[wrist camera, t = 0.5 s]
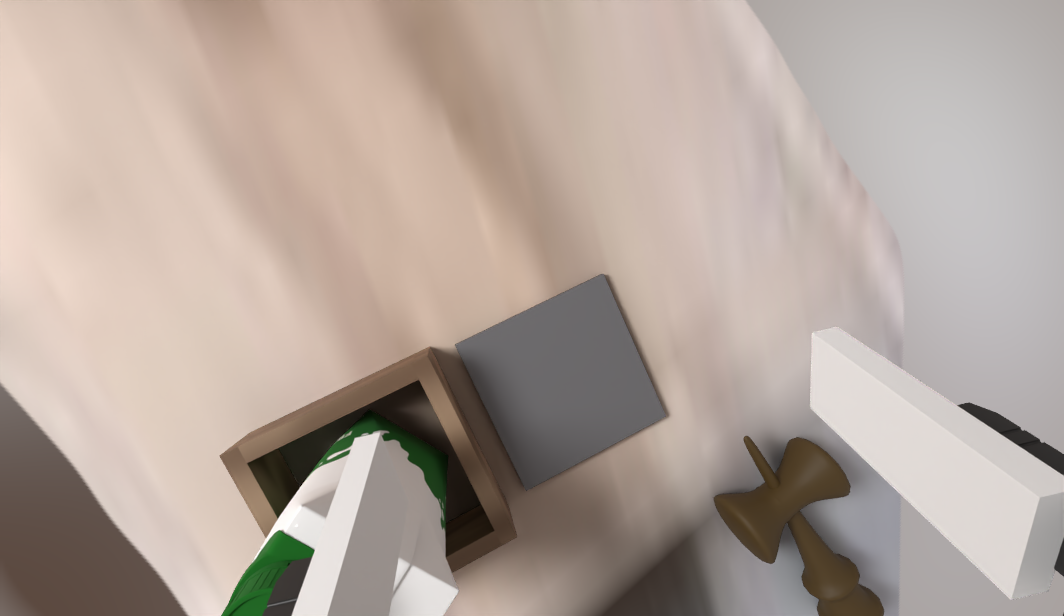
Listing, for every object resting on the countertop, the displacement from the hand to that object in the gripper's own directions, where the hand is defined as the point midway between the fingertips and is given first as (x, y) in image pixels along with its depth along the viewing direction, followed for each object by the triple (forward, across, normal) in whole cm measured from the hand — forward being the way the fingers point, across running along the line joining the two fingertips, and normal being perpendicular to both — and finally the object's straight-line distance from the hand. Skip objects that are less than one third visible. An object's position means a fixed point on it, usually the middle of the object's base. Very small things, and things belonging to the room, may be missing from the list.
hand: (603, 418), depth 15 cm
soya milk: (+19, -15, -15) cm, 29 cm away
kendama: (+20, +16, -30) cm, 39 cm away
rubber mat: (+22, 0, -13) cm, 26 cm away
